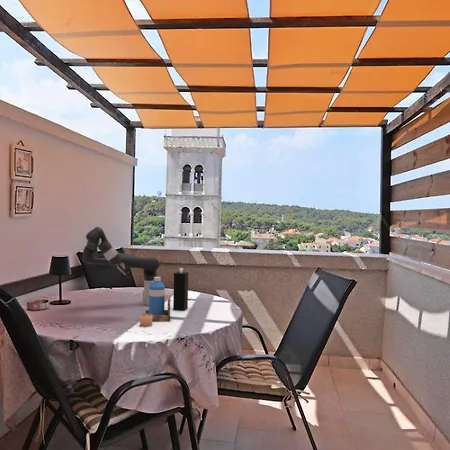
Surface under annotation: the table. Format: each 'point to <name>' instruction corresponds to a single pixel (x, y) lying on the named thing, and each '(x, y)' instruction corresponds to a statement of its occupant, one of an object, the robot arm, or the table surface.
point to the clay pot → (146, 320)
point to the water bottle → (156, 297)
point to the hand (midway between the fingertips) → (130, 278)
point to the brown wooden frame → (162, 317)
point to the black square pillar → (180, 290)
